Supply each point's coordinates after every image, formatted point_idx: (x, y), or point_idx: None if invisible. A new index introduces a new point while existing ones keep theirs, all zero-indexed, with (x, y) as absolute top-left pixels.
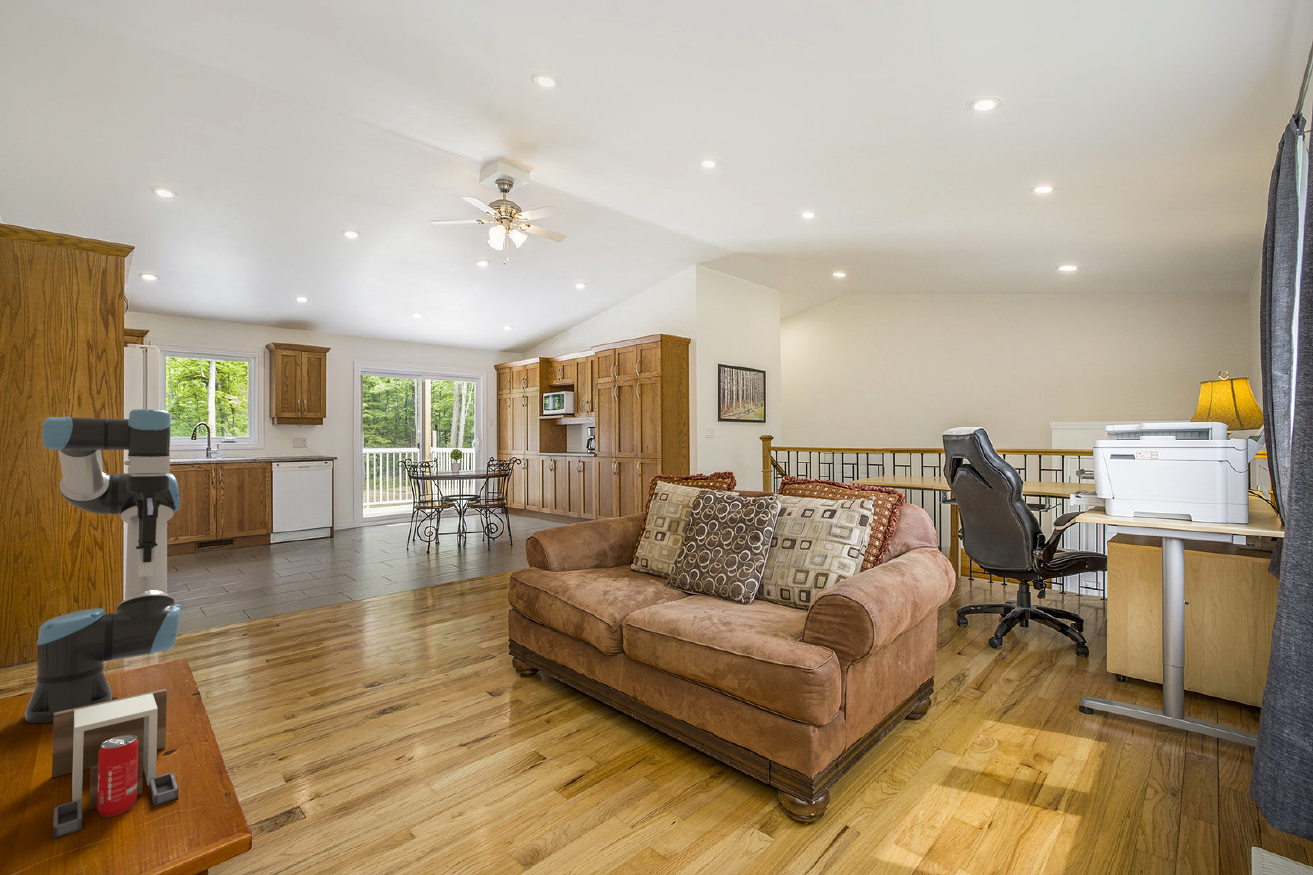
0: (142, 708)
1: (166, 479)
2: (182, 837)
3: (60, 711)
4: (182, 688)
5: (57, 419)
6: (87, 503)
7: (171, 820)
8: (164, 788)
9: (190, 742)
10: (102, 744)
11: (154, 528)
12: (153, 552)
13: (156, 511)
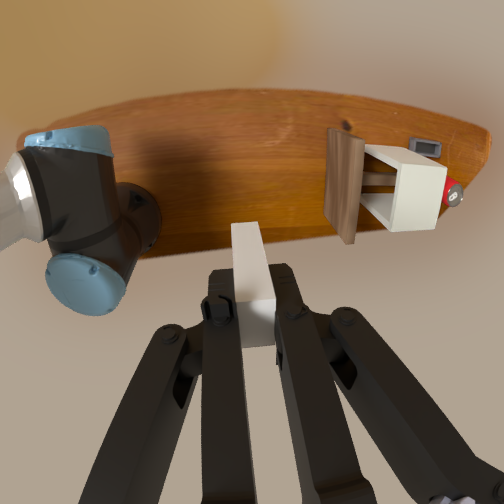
0: (437, 179)
1: None
2: (473, 151)
3: (346, 239)
4: (117, 108)
5: None
6: None
7: (456, 151)
8: (419, 145)
9: (336, 106)
10: (451, 205)
11: (420, 395)
12: (272, 284)
13: (497, 473)
